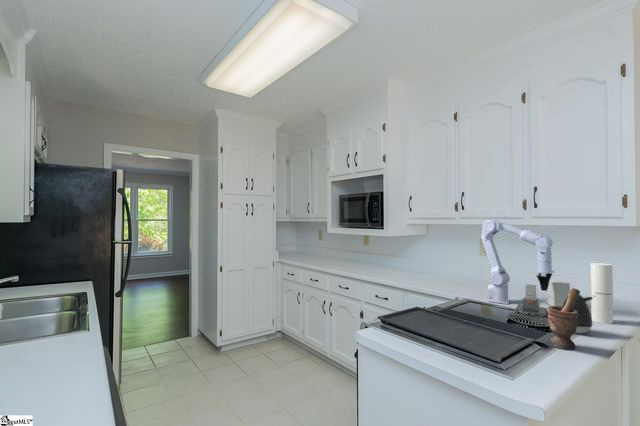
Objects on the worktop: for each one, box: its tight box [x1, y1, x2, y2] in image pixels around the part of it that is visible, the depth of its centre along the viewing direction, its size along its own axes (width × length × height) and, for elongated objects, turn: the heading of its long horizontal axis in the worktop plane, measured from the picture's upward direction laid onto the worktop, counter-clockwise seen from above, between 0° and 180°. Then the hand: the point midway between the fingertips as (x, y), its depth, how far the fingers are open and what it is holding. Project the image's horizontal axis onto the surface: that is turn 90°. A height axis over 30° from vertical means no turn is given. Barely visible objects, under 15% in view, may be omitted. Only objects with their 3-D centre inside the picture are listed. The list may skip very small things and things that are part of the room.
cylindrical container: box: [590, 262, 614, 325], centre depth 143 cm, size 7×7×25 cm
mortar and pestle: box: [547, 287, 581, 351], centre depth 117 cm, size 12×9×20 cm
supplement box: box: [546, 279, 571, 307], centre depth 167 cm, size 7×7×13 cm
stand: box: [514, 296, 548, 317], centre depth 157 cm, size 12×12×6 cm
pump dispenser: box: [562, 294, 593, 335], centre depth 130 cm, size 10×10×15 cm
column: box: [525, 283, 538, 301], centre depth 157 cm, size 4×4×8 cm
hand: (544, 289), depth 161 cm, fingers open, 7 cm apart
